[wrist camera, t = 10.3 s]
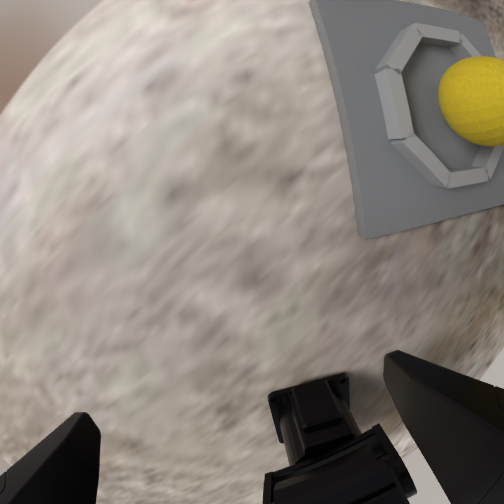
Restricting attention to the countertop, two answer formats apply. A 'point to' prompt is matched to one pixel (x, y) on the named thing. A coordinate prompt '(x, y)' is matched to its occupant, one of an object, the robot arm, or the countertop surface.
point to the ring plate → (405, 112)
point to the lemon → (474, 99)
